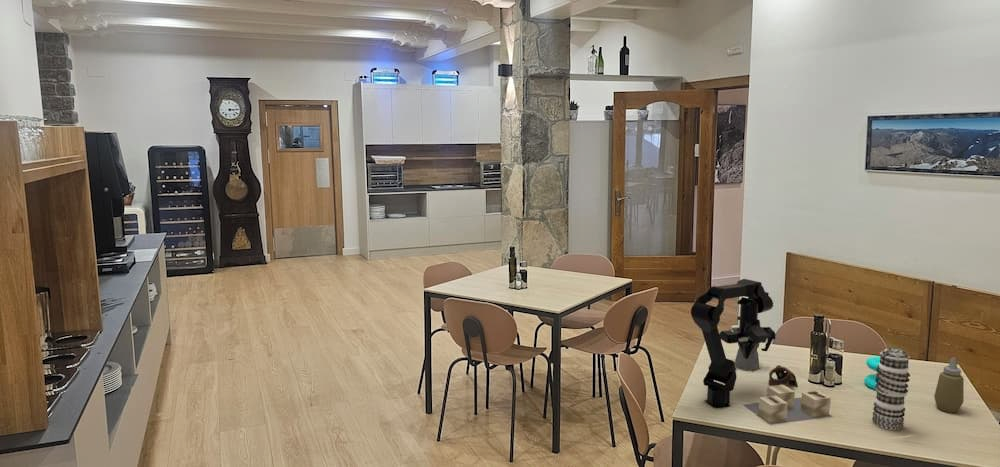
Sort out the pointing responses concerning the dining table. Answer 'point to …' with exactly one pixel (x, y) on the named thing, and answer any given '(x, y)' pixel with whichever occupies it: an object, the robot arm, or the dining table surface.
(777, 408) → the numbered block one
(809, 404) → the numbered block seven
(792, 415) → the charcoal mat
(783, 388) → the plain block
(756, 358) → the coffeepot
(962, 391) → the squeeze bottle
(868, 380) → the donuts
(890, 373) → the striped patterned cylinder
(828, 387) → the dining table surface
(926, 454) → the dining table surface
